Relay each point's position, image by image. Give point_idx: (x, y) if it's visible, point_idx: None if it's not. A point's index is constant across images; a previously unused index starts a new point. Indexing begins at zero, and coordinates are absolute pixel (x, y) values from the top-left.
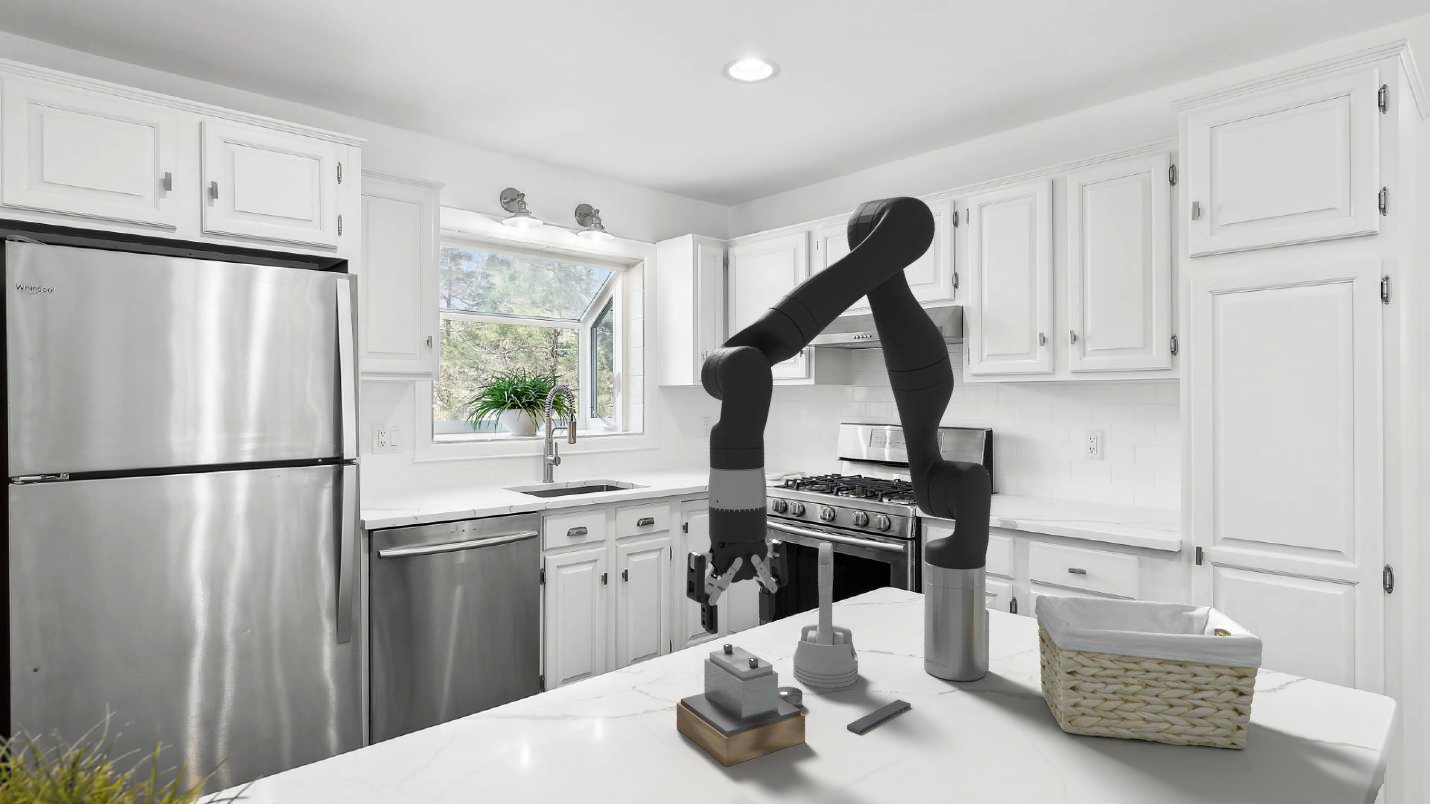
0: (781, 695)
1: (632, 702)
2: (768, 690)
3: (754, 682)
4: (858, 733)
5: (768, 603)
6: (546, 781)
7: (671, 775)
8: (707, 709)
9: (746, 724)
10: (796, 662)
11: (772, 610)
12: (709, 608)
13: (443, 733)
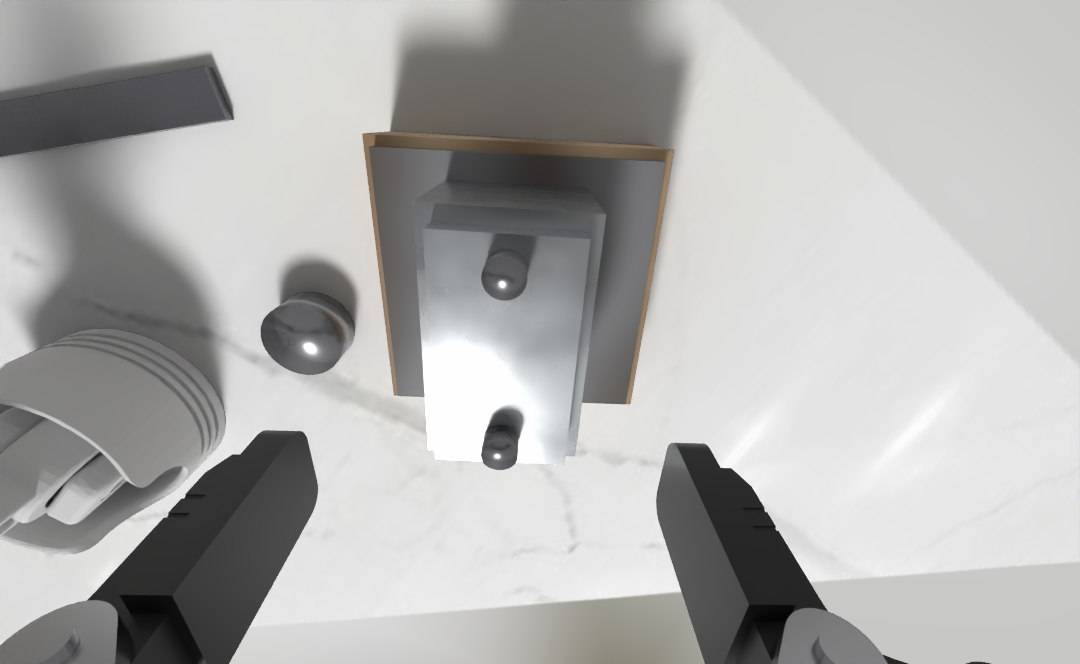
0: (329, 335)
1: (616, 502)
2: (473, 195)
3: (540, 206)
4: (213, 71)
5: (223, 526)
6: (967, 327)
7: (777, 194)
8: (611, 317)
9: (585, 167)
10: (194, 449)
11: (224, 474)
12: (793, 598)
13: (938, 555)
